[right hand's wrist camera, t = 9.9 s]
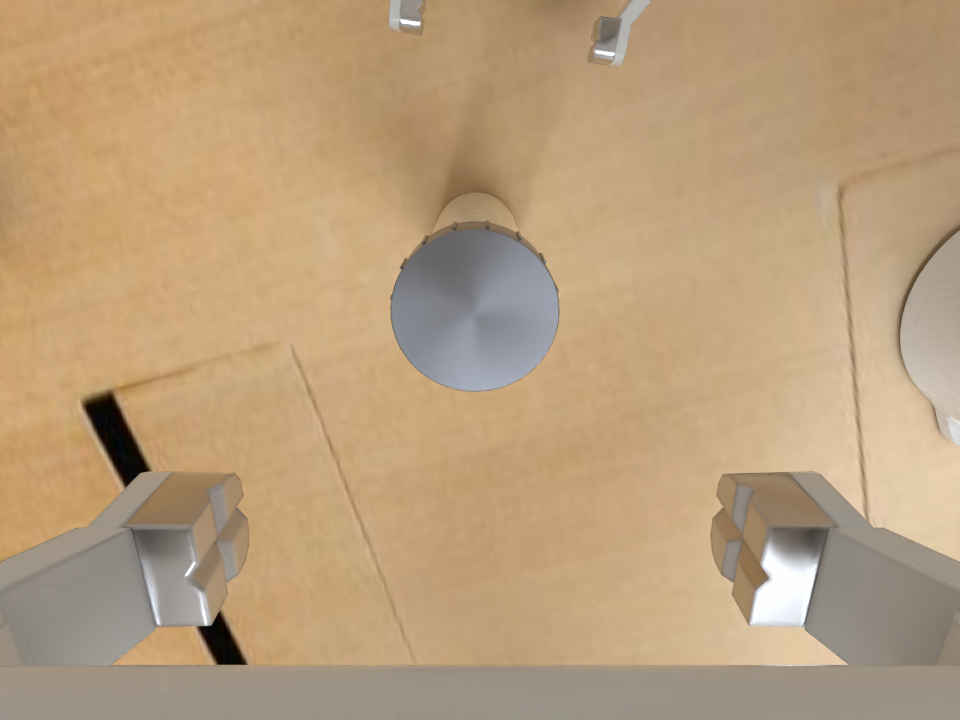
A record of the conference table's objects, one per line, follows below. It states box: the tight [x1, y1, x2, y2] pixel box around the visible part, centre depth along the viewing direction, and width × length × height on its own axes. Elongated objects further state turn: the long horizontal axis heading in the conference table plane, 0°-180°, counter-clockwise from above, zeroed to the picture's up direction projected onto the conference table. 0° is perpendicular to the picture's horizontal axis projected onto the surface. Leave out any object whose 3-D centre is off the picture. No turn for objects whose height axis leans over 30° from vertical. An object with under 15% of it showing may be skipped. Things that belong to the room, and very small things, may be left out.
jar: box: [431, 192, 519, 234], centre depth 29 cm, size 5×5×17 cm
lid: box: [390, 220, 559, 392], centre depth 22 cm, size 6×6×2 cm
